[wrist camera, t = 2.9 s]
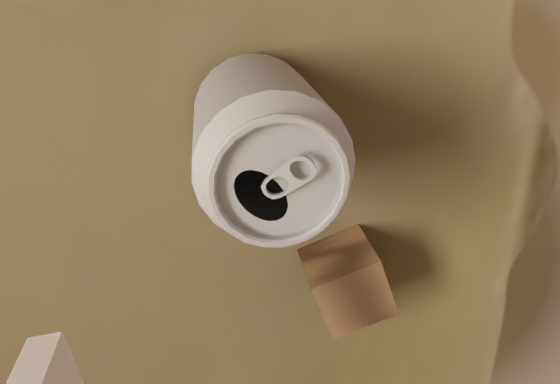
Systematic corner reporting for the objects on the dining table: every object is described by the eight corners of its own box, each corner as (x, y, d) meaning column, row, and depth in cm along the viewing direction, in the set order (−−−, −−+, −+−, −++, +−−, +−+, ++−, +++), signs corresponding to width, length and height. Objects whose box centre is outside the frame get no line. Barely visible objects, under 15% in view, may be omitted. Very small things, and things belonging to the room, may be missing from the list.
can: (168, 106, 29) (150, 185, 18) (258, 23, 28) (294, 58, 17) (247, 184, 32) (270, 291, 22) (331, 113, 31) (400, 190, 20)
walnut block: (318, 295, 38) (333, 339, 33) (297, 249, 35) (310, 289, 31) (375, 272, 38) (399, 313, 33) (358, 223, 35) (380, 260, 31)
